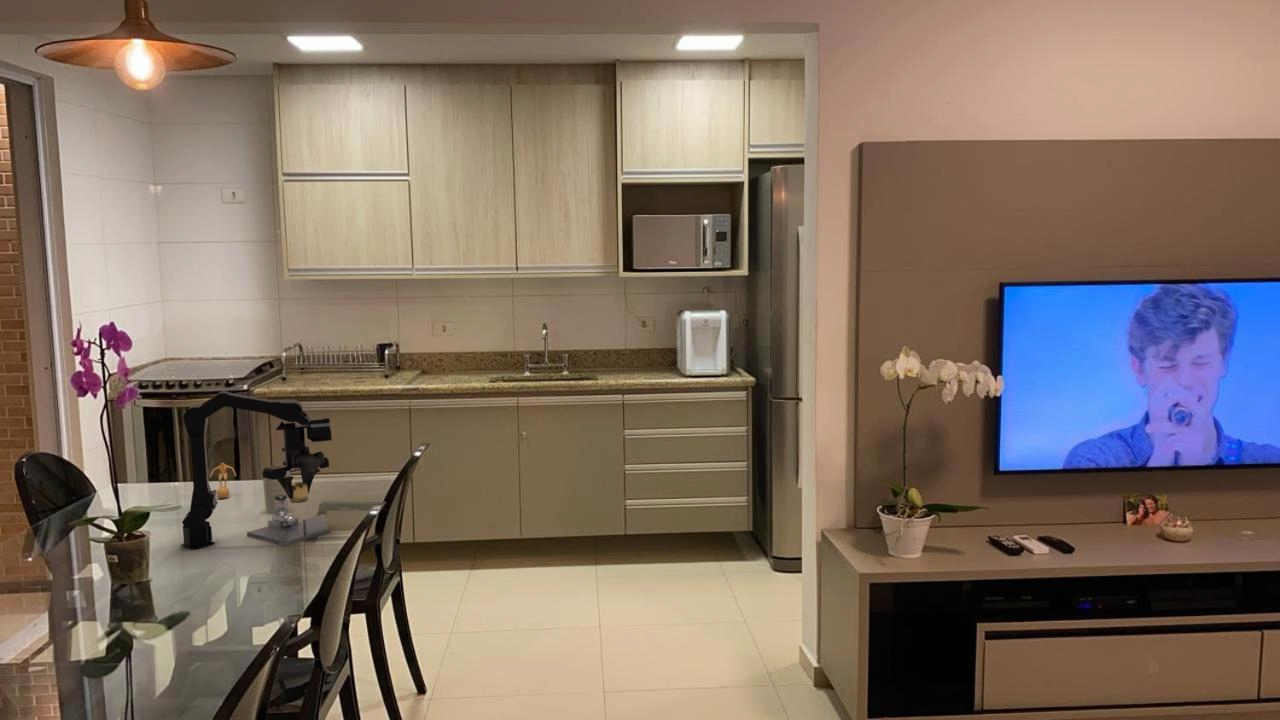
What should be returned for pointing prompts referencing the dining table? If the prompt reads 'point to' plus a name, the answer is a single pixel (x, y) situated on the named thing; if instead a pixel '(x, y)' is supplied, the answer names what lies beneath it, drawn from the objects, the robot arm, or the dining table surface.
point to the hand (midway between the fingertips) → (298, 496)
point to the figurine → (222, 491)
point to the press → (292, 531)
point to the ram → (282, 511)
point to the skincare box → (272, 494)
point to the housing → (299, 492)
